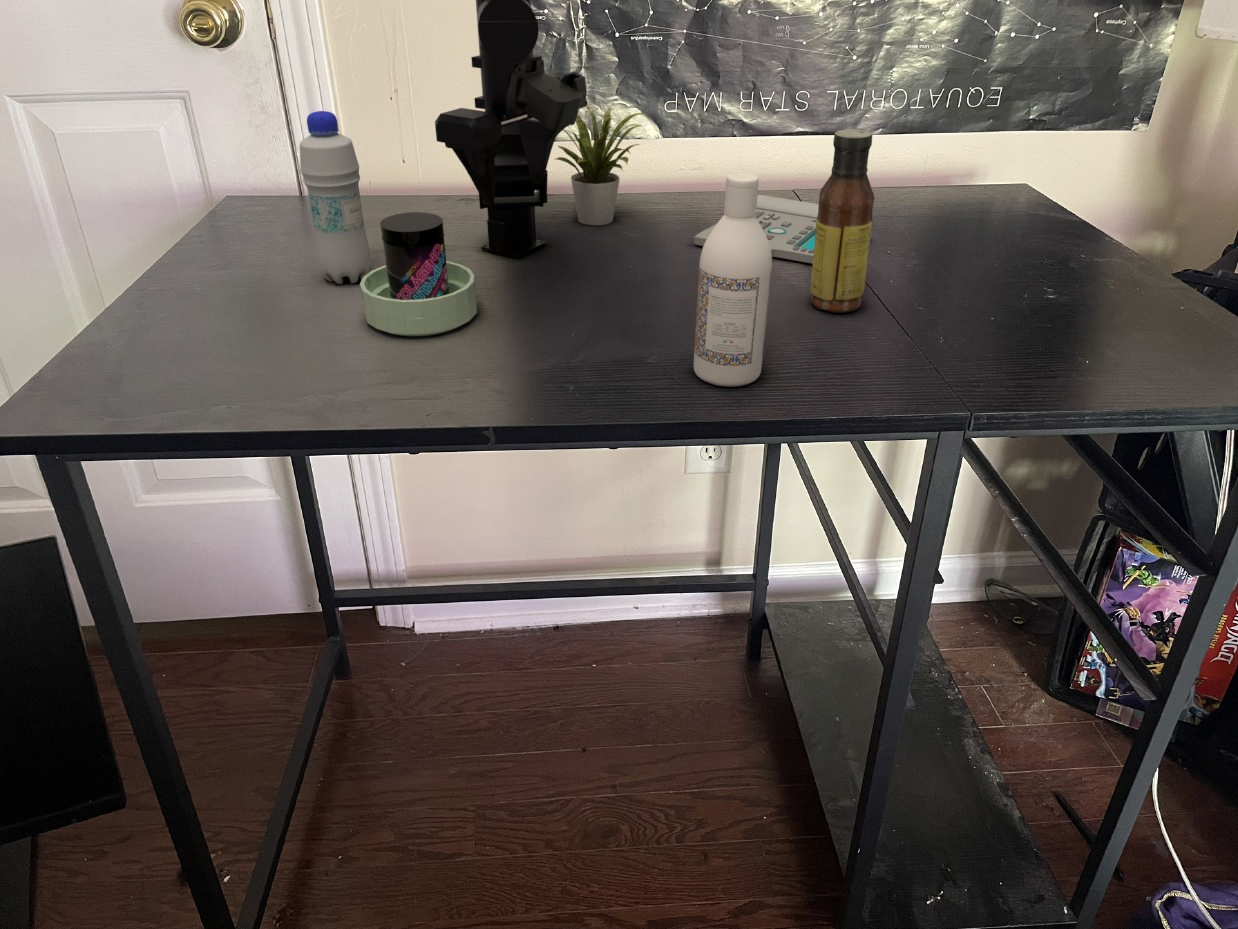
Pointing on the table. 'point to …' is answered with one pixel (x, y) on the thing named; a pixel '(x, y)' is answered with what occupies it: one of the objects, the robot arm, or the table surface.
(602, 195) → the house plant
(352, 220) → the bottle
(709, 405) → the table surface
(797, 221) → the office telephone
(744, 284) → the bath foam
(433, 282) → the supplement container
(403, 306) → the bowl
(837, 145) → the sauce bottle
